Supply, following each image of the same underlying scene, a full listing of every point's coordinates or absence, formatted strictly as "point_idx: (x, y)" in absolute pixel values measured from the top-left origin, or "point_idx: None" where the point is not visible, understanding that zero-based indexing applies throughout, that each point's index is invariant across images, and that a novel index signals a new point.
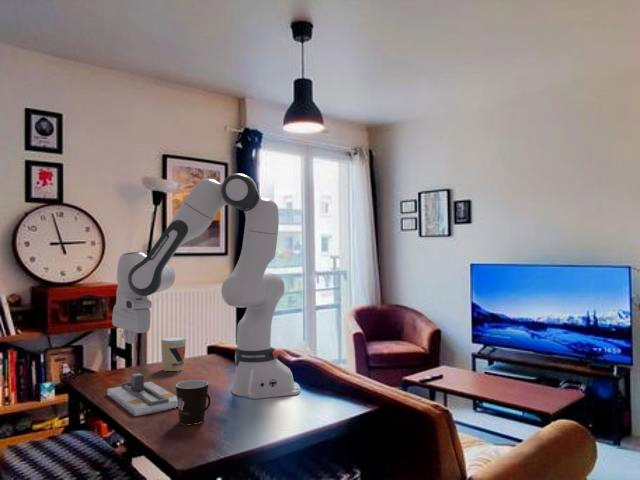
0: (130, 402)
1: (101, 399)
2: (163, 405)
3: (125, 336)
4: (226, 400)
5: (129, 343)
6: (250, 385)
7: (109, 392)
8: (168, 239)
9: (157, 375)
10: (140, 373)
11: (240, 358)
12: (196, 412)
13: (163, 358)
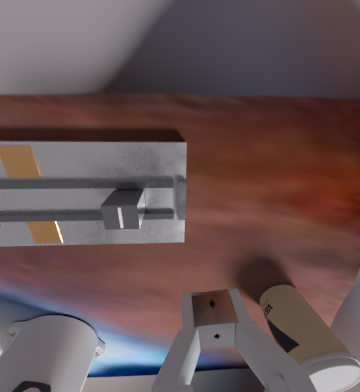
0: (10, 149)
1: (154, 115)
2: None
3: (245, 329)
4: (24, 297)
5: (182, 294)
6: (7, 346)
7: (168, 141)
8: None
9: (262, 268)
10: (132, 228)
11: None
12: None
13: (299, 309)
